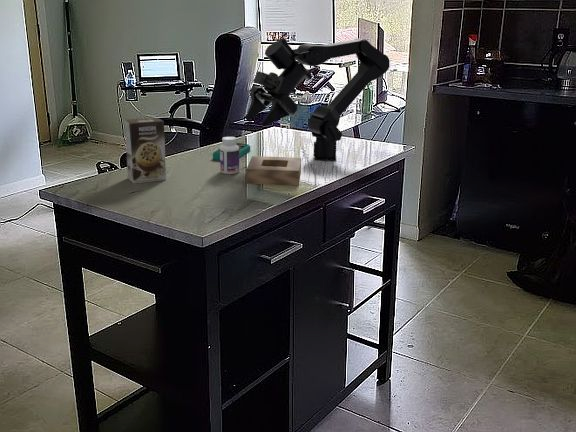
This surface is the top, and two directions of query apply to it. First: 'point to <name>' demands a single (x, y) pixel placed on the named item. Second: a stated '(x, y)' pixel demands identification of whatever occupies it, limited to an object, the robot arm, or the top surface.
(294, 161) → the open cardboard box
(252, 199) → the top surface
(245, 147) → the digital multimeter
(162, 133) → the cookie box
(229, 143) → the pill bottle
